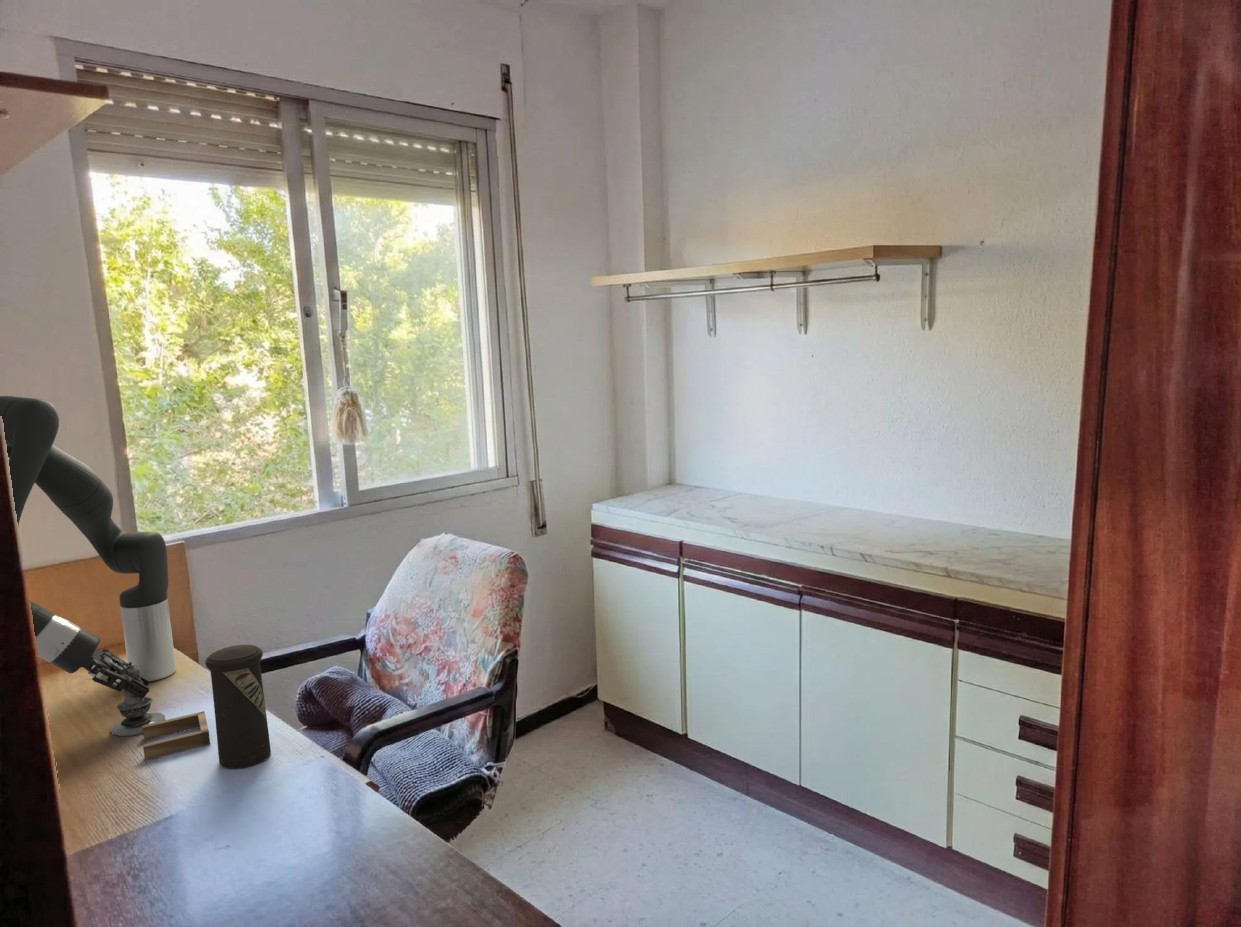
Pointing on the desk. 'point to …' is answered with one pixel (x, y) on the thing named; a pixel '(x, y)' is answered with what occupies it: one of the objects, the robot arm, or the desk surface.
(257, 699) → the container
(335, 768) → the desk surface
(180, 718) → the wooden arch
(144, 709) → the stone finial
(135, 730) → the grey oval disc
